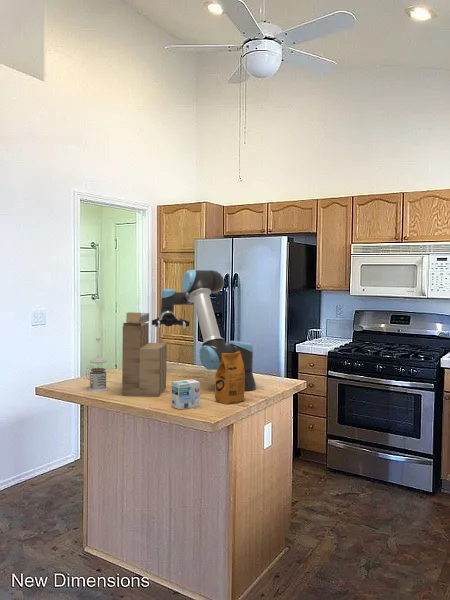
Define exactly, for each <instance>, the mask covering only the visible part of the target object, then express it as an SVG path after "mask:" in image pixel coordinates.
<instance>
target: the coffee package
mask: <svg viewBox="0 0 450 600" xmlns="http://www.w3.org/2000/svg"><path fill="white" fill-rule="evenodd" d="M221 356H222V359H221V362H220V365H219V367H218V369H217V370H216V373H215V377H214V379H215V380H214V381H215V384H214V386H215V388H214V398H215V401H216V402H218V403H219V404H223V405H229V404H238V403H241V402H244V401H245V391H244V390H245V370H244V364H243V360H242V356H241V353H240V351H238V352H235V353H221Z"/></svg>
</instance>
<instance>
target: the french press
mask: <svg viewBox="0 0 450 600" xmlns="http://www.w3.org/2000/svg"><path fill="white" fill-rule="evenodd" d="M95 340H96V341H97V342H99V341H101V338H100V337H97V338H96V339H95ZM106 362H107V359H105V358H102V357H99V356H97V357H95V358H92V359H90V360H89V363H90V364H89V365H88V366H87V368H86V371H85V376H86V379H87V380H88V381H89V387H88V388H87V391H89V392H106V391H108V390H109V388H108V387H107V371H106V369H107V368H103V367H94V365H93V364H103V363H104V364H105V363H106ZM91 364H92V365H91ZM88 368H89V369H88ZM88 377H89V378H88Z"/></svg>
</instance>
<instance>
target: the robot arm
mask: <svg viewBox="0 0 450 600" xmlns="http://www.w3.org/2000/svg"><path fill="white" fill-rule="evenodd" d="M181 281H182V282H181V288H182V291H183V292H182V291H179V292H178V291H175V289H174V288H163V289H161V297H160V298H161V299H160V302H161V303H160V312H159V317H157V318H155V319H152V320H151V326H154V327H155V328H156V327H157V328H158V329H161V325H163V326H166V327H173V325H174V326H181V327H182V328H183V329H184V330H186V328H187V327H190V321H188V320H186V319H182V318H179V319H178V318H176V316H175V314H174V309H175V306H193V305H194V308H195V312H196V316H197V321H198V324H199V328H200V331H201V335H202V340H203V342H202V344H201V347H200V349H199V360H200V363H201V365H202V366H203V368H205V369H207V370H208V371H209V370H211V371H212V370H214V371H217V369H218V367H219V365H220V362H221V359H222V356H221V353H235V352H238V351H240V353H241V356H242V360H243V364H244V370H245V390H244V392H248V391H253V390H256V388H257V385H256V381H255V377H254V374H253V373H254V372H253V366H254V365H253V362H254V361H253V358H254V356H253V355H254V346H253V344H252V343H250V342H244V341H238V340H230V341H229V343H228V344H226V340H225V338H223V337H221V333H220V329H219V326H218V322H217V319H216V315H215V311H214V308H213V303H212V300H211V296H210V295H211V294H213V295H214V294H216V293H217V294H218V293H219V292H220V291H222V290H223V288H224V286H225V280H224V277H223V275H222V274H221V273H220V272H218V271H216V270H213V269H212V270H208V269H204V270H203V269H202V270H199V269H198V270H197V269H191V270H190V269H188V270H187V271H186V272H185V273H184V274H183V276H182V280H181Z"/></svg>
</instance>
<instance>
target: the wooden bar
mask: <svg viewBox="0 0 450 600" xmlns="http://www.w3.org/2000/svg"><path fill="white" fill-rule="evenodd" d="M125 318H126V322H125V323H141V324H143V323H149V321H150V312H134V311H133V312H131V311H129V312H126V316H125Z"/></svg>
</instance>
